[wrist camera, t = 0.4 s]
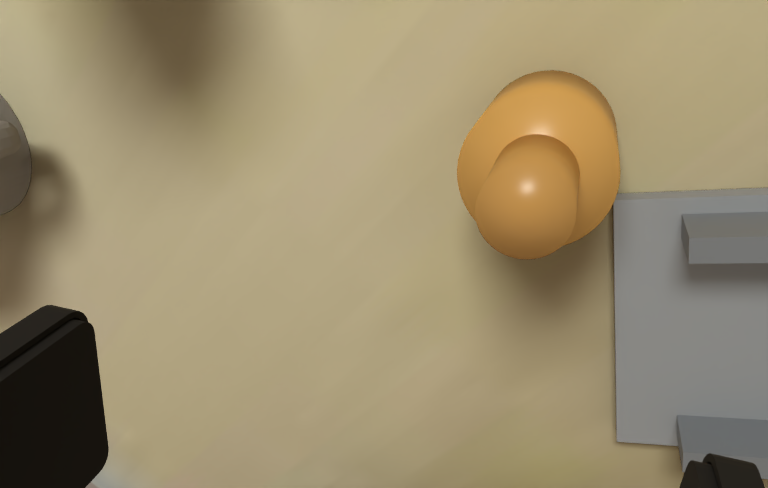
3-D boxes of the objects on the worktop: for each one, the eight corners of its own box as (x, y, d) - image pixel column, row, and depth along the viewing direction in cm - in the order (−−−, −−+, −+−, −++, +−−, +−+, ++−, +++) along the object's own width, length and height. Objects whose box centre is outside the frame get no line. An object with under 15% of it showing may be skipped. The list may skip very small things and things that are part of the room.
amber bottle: (615, 63, 30) (623, 112, 21) (617, 197, 33) (624, 298, 23) (476, 77, 32) (423, 128, 23) (487, 202, 35) (443, 296, 25)
